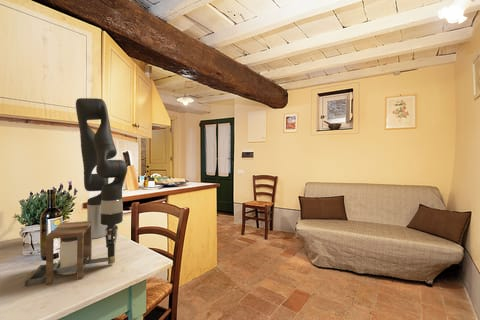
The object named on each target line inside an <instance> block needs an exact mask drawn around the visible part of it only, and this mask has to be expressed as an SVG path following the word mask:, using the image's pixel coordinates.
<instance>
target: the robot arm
mask: <svg viewBox="0 0 480 320" xmlns="http://www.w3.org/2000/svg"><path fill="white" fill-rule="evenodd" d="M75 110H76V111H75V112H76V118H77V122H78V128H79V137H80V149H81V157H82V164H83V186H84V190H85V191H86V192H100V193H99V194H98V195H94V196H93V197H89V198H87V205H86V206H87V208H86V209H87V213H86V215H87V217H86V219H87V220H86V221H92V239H100V238H104V237H105V247H106V249H107V257H113V256H114V247H115V248H116V243H117V238H118V231H119V226H118V224H120V223H122V222H123V220H124V219H123V217H124V216H123V214H124V213H123V211H124V210H123V209H124V208H123V206H124V205H123V187H124V183H125V179H126V178H127V177H126V176H127V173H128V165H127V163H126V161H124V160H123V159H114V158H115V157H116V156H117V153H118V149H117V148H116V145H115V142H114V139H113V136H112V135H113V134H112V130H111V122H110V117H109V113H108V112H109V111H108V107H107V104H106V102H105V101H104V100H103V99H102V98H91V97H90V98H88V97H87V98H86V97H80V98H77V99H76V100H75ZM96 120H97V121H98V120H100V124H99V127H98V128H97V130H96V131H94V130H93V129H92V128H91V127H90V125H89V124H88V121H96ZM95 168H96V169H95ZM94 170H95V171H96V173H92V172H94ZM109 179H113V180H112V181H111V182H110V183H109ZM114 236H115V238H114ZM109 243H112V244H109Z"/></svg>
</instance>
